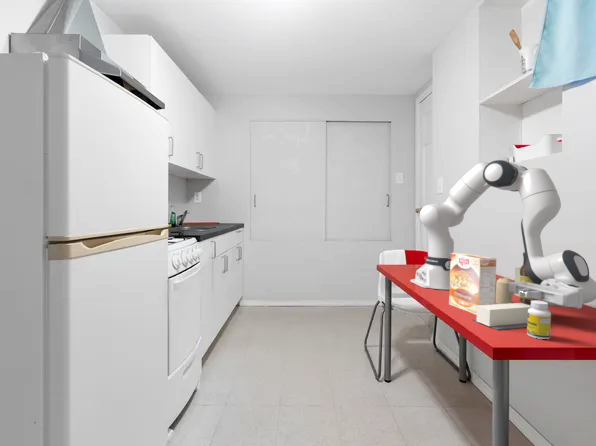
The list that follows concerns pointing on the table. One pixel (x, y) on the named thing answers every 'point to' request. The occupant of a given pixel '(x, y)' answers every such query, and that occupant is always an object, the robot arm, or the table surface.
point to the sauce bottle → (525, 279)
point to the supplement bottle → (539, 320)
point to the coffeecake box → (472, 281)
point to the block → (503, 314)
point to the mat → (506, 326)
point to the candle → (503, 291)
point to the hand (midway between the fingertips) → (522, 293)
